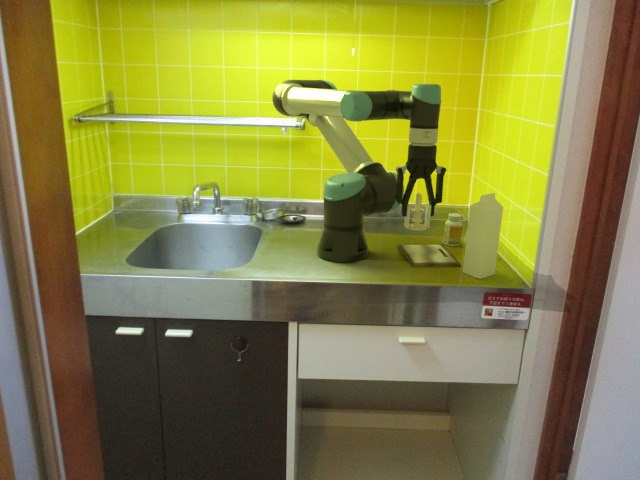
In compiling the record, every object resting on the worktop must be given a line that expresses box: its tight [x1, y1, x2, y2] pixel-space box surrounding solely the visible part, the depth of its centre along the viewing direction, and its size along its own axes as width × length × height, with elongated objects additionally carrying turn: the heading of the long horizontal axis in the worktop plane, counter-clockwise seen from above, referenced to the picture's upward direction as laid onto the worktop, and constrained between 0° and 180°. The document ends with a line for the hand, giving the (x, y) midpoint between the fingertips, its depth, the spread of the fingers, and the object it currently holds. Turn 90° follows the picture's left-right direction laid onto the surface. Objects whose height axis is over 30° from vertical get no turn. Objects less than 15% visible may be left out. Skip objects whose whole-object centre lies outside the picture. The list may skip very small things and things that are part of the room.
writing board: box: [397, 243, 462, 268], centre depth 146 cm, size 14×17×1 cm
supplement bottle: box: [442, 212, 464, 247], centre depth 156 cm, size 5×5×10 cm
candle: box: [408, 192, 427, 232], centre depth 138 cm, size 5×5×10 cm
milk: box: [462, 192, 504, 280], centre depth 130 cm, size 6×6×22 cm
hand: (416, 227), depth 140 cm, fingers closed on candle, 5 cm apart
